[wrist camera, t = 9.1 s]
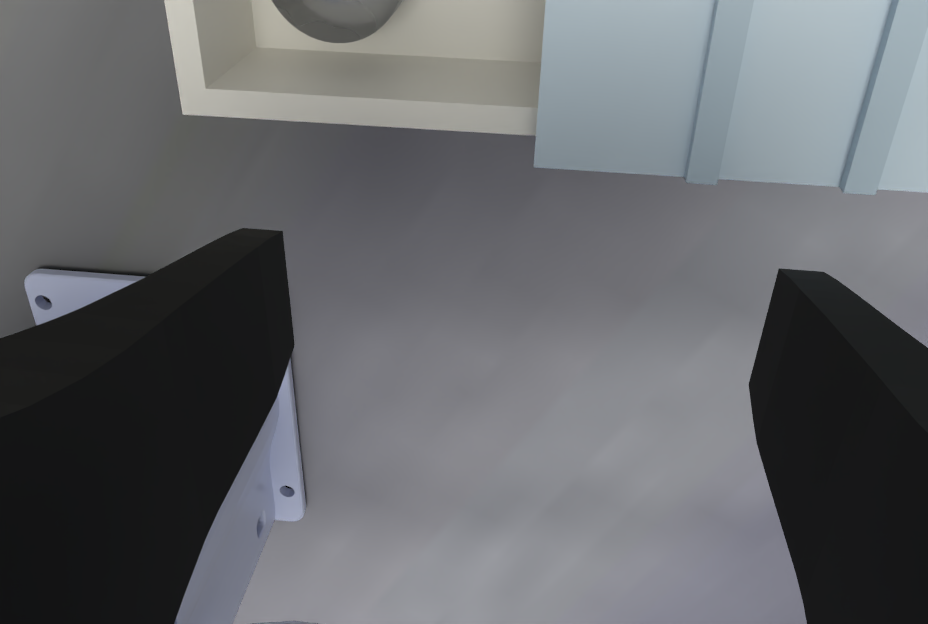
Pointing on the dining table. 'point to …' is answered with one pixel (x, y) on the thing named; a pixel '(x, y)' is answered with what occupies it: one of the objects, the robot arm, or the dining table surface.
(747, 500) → the dining table surface
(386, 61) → the tub
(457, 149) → the dining table surface
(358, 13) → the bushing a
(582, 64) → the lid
